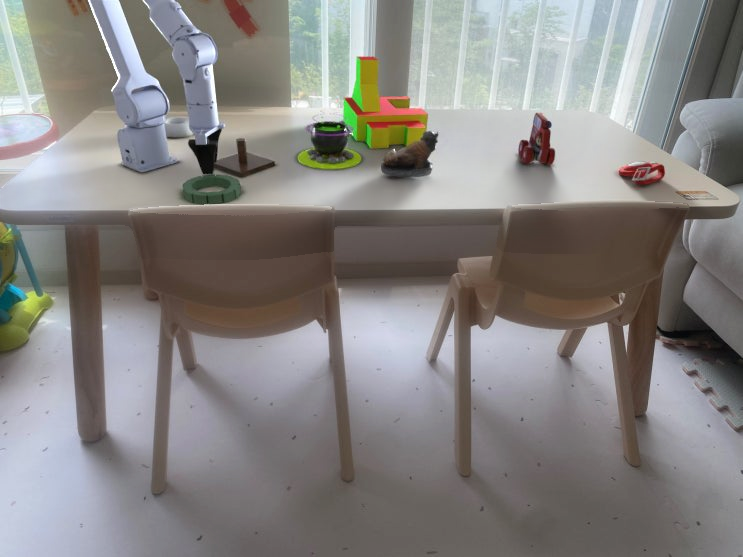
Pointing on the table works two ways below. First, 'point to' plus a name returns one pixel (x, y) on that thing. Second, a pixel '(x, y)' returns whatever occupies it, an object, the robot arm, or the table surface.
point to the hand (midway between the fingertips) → (209, 167)
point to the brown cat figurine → (411, 158)
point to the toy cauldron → (329, 146)
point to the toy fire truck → (538, 142)
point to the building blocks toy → (380, 111)
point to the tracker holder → (643, 171)
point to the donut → (177, 127)
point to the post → (243, 161)
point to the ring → (211, 197)
